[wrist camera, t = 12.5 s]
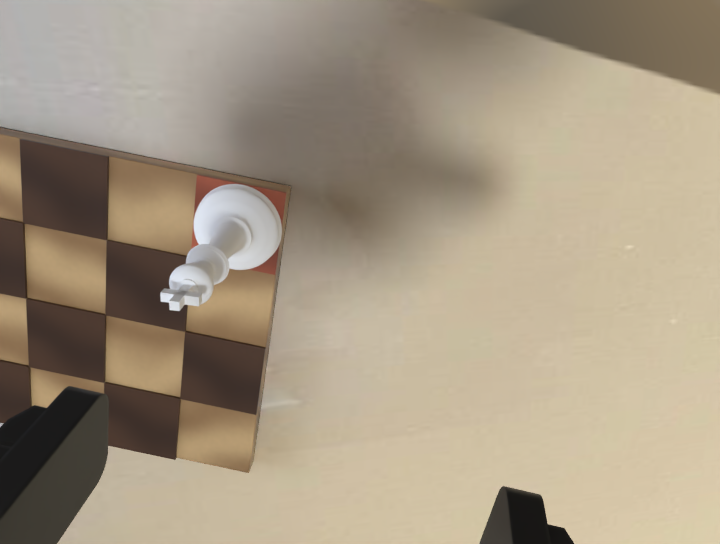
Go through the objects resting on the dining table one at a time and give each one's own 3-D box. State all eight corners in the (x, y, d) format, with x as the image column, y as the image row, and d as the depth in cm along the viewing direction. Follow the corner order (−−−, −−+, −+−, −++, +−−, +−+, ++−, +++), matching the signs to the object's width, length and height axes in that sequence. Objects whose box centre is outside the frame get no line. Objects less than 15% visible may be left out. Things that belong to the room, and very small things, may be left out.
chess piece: (194, 178, 36) (113, 245, 27) (283, 188, 36) (231, 259, 26) (196, 261, 38) (121, 349, 29) (280, 271, 38) (231, 363, 28)
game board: (-52, 116, 37) (-69, 121, 36) (291, 186, 37) (286, 193, 36) (-28, 401, 46) (-41, 413, 44) (253, 461, 45) (248, 475, 44)
